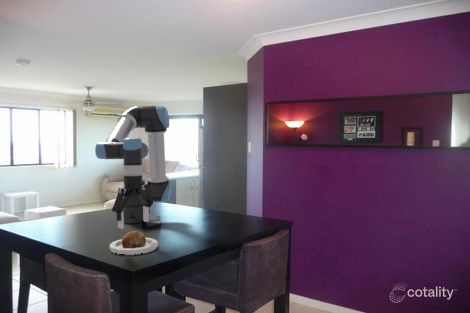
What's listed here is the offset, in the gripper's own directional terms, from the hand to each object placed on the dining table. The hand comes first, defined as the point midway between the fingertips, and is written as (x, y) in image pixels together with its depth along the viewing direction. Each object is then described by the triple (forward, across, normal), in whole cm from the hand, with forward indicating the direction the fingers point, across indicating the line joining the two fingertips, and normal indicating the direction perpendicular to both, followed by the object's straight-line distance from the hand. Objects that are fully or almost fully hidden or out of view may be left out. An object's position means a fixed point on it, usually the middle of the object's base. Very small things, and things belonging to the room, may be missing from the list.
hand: (133, 224), depth 155 cm
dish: (+10, 0, 0) cm, 10 cm away
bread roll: (+9, +1, 0) cm, 9 cm away
